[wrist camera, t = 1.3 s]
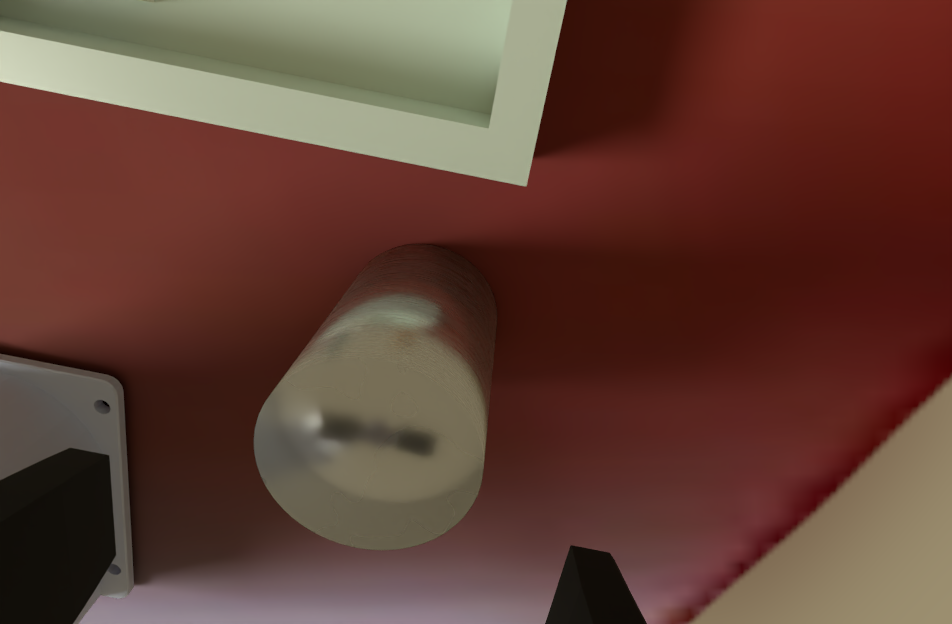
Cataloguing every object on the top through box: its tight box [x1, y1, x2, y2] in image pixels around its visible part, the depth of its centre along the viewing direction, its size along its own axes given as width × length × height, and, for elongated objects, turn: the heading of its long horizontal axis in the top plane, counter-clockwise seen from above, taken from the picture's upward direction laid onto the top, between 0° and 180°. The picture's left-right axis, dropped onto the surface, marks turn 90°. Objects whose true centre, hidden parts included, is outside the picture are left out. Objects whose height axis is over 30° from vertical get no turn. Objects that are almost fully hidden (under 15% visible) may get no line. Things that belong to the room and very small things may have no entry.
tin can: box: [254, 244, 497, 550], centre depth 15 cm, size 4×4×7 cm
